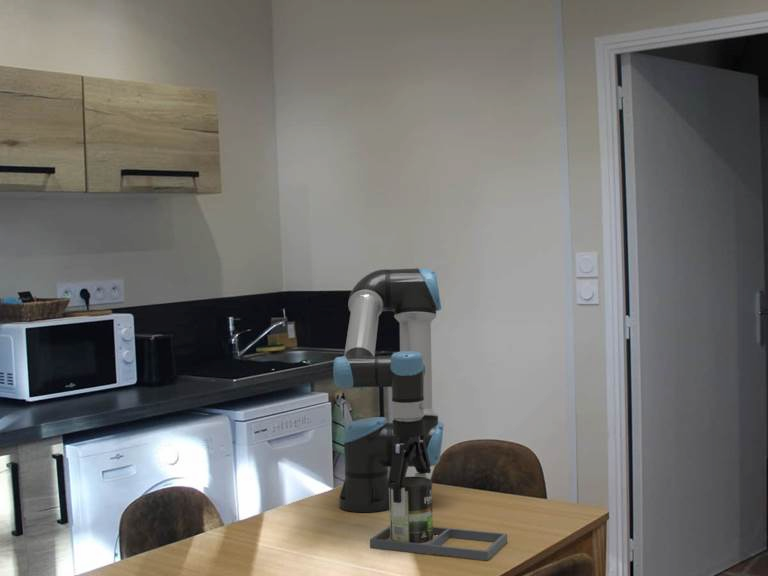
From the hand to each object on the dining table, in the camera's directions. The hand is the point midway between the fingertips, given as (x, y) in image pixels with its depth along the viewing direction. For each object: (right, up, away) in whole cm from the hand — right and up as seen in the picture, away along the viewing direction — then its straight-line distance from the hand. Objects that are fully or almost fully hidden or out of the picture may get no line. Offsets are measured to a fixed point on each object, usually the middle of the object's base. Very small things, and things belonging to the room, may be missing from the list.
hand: (410, 508), depth 230 cm
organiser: (+7, -8, -3) cm, 11 cm away
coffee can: (0, -8, 0) cm, 8 cm away
